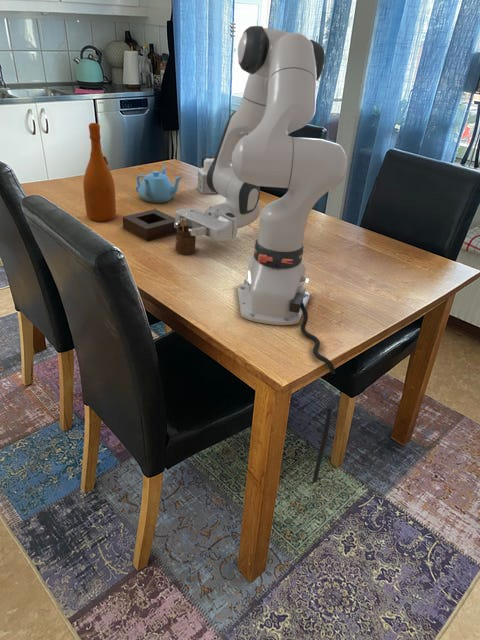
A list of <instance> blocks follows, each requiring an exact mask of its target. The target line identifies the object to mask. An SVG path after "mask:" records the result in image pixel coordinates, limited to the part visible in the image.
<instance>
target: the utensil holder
mask: <svg viewBox="0 0 480 640" xmlns="http://www.w3.org/2000/svg"><path fill="white" fill-rule="evenodd" d="M188 214H190V213H188ZM186 215H187V214H186ZM186 215H185V216H186ZM179 218H180V225H181V226H180V227H178V228H177V233H175V241H174V243H175V251H176V253H178V254H180V255H191V254H194V253H195V251H196V245H197V243H196V241H197V239H196V235H195V236H191V235H189V229H191V228H193V227H191V226H190V225H189V226H185V217H184V216H183V217H182V216H181V217H180V216H179ZM181 218H182V222H181ZM183 218H184V223H183ZM187 218H188V217H187ZM189 223H190V222H189ZM191 225H192V223H191Z"/></svg>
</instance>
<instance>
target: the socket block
mask: <svg viewBox="0 0 480 640" xmlns="http://www.w3.org/2000/svg"><path fill="white" fill-rule="evenodd" d="M174 223H175V216H173V215H169V214H168V213H165V212H163V211H160V210H159V209H156V208H153V209H150V210H149V209H148V210H145V211H139V212H137V213H133V214H128V215H124V216H123V215H122V229H124V230H125V231H127V232H129V233H131V234H132V235H135V236H136V237H138V238H141V239H143V240H144V241H146V242H150V241H153V240H157V239H160V238H164V237H167V236H171V235H174V234H177V229H176V228H175V227H174Z"/></svg>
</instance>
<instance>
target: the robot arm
mask: <svg viewBox="0 0 480 640" xmlns="http://www.w3.org/2000/svg"><path fill="white" fill-rule="evenodd" d="M237 58H238V65H239V67H240V68H241V70H242V71H244V72H246V73H248V77H247V80H246V83H245V86H244V91H243V95H242V99H241V102H240V105H239V106H238V108H237V110H235V111H233V112H231V114H230V115H229V117H228V119H227V121H226V124H225V127H224V130H223V131H222V135H221V138H220V140H219V144H218V147H217V150H216V153H215V155H214V157H215V158H214V160H213V162H212V164H211V166H210V168H209V170H208V172H207V185H208V187H209V189H210V190H211V191H213V192H215V193H214V194H218V195H220V196H222V197H223V198H225V201H224V202H222V203H219V204H214V205H210V206H208V207H207V208H206V209H205V211H203V210H201V209H198V208H195V207H188V208H182V209H177V210H176V211H175V212H174V218H175V223H174V227H175V228H176V229H177V228H178V227H180V226H181V225H180V218H179V216H180V217H181V216H182V217H183V216H184V217H185V226H189V225H190V226H191V227H193V228H191V229H189V235H191V236H195V237H196V236H204V237H207V238H209V239H211V240H213V241H216V242H225V241H227V240H230V239H236V238H237V237H238V229H241V228H245V227H247V226H250V225H251V224H252V223H254V222H255V221H256V220H257V219H258V218H259V219H258V229H257V238H256V240H255V244H254V247H253V250H254V251H253V256H252V257H251V258H250V259H248V261H247V270H246V278H245V279H244V282H243V283H240V284H238V286H237V296H238V303H239V311H240V316H241V318H243V319H246V320H248V321H251V322H255V323H260V324H265V325H274V326H293V325H298V324H299V323H300V321H301V319H302V321H301V323H300V324H301V325H300V331H301V333H302V335H303V336H304V337H306V338H308V339H310V340H312V341H313V342H314V346H313V349H312V353H313V355H314V357H315V358H316V359H318V360H319V361H321V362H323V363H324V364H325V365H326V366H327V367H328V369H329V372H330V374H331V375H336V369H335V366H334V364H333V363H332V361H331V360H330V359H328V358H327V357H325V356H324V355H322V354H320V353H319V348H320V343H321V342H320V339H319V338H318V337H317V336H316V335H314V334H312V333H309V332H308V331H307V330H306V326H307V323H308V320H309V314H308V310H307V308H306V307H307V306H308V303H309V301H310V299H311V293H309V292H308V291H306V290H307V288H306V287H305V283H309V278H307V276H306V272H307V266H306V265H305V264H304V263H303V256H304V243H303V240H304V235H305V232H306V231H305V230H306V226H307V221H308V220H309V219H308V218H309V215H310V214H311V211H312V210H313V208H314V207H315V205H316V204H317V203H318V201H319V200H320V199H321V198H322V197H324V196H325V194H327V193H329V192H330V191H331V190H333V189H334V188H336V187H337V186H339V184H341V182H342V181H343V179H344V178H345V175H346V173H347V169H348V159H347V158H348V157H347V154H346V152H345V149H344V148H343V146H341V144H339V143H336V142H333V141H329V140H326V139H323V138H312V137H294V136H291V135H290V134H292V133H293V132H295V131H298V130H300V129H302V128H304V127H305V126H307V125H308V124H309V123H310V122H311V121H312V120H313V118H314V116H315V114H316V110H317V109H316V108H317V107H316V105H317V104H316V103H317V82H318V81H319V80H320V78H321V76H322V73H323V71H324V67H325V61H326V52H325V49H324V46H323V45H322V44H321V43H319V42H317V41H315V40H313V39H309V37H307V36H306V35H305V34H302V33H298V32H289V31H287V30H286V31H285V30H282V29H275V28H268V27H263V26H262V25H250V26H249V27H247V28H246V29H245V30H244V31H243V33H242V35H241V37H240V39H239V43H238V45H237ZM261 187H264V188H265V187H266V188H280V189H281V188H282V189H287V191H286V193H285V194H284V195H283V196H281V197H280V198H277V199H275V200H272V201H269V202H268V203H267V204H266V205H264V207H263V208H262V209H261V205H260V203H259V200H260V196H261ZM188 213H190V214H188ZM186 214H187V215H186ZM185 215H186V216H185ZM187 217H188V218H187ZM181 222H182V218H181ZM189 222H190V223H189ZM183 223H184V218H183ZM191 223H192V225H191ZM302 317H303V318H302ZM332 413H333V409H331V408H327V409H326V415H325V421H324V426H323V427H324V428H323V433H322V437H321V442H320V445H319V450H318V454H317V458H316V461H315V467H314V472H313V477H312V482H313V483H317V482H318V477H319V473H320V469H321V464H322V460H323V458H324V457H323V456H324V453H325V448H326V444H327V441H328V440H327V439H328V435H329V430H330V425H331V419H332Z"/></svg>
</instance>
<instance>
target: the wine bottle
mask: <svg viewBox="0 0 480 640" xmlns="http://www.w3.org/2000/svg"><path fill="white" fill-rule="evenodd" d="M88 131H89V140H90V153H89V160H88V163H87V165H86V166H87V167H86V169H85V171H84V176H83V182H82V183H83V197H84V204H85V205H84V206H85V213H86V216H87V218H88V219H89V220H91V221H94V222H108V221H111V220H113V219H115V217H116V215H117V203H116V202H117V201H116V187H115V182H114V181H115V180H114V178H113V175H112V172H111V170H110V168H109V162H108V158H107V156H105V155H104V153H103V151H102V148H101V141H100V140H101V138H102V137H101V126H100V124H99V123H97V122H90V123H89V124H88Z"/></svg>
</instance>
